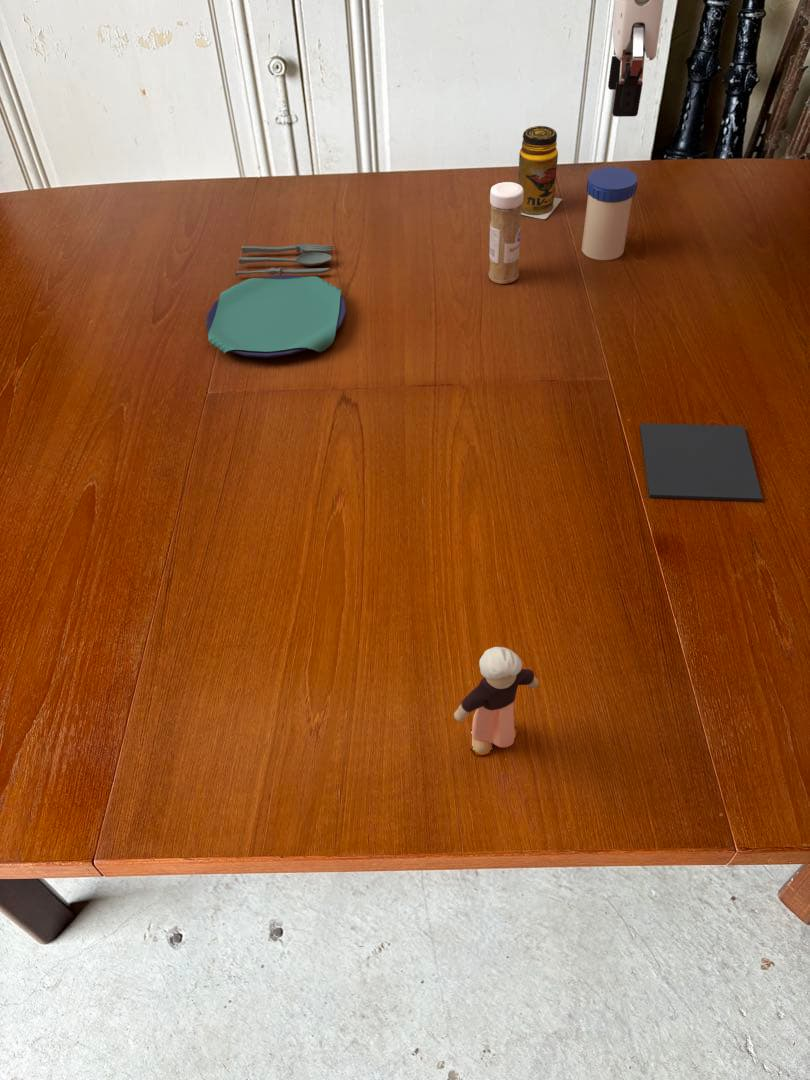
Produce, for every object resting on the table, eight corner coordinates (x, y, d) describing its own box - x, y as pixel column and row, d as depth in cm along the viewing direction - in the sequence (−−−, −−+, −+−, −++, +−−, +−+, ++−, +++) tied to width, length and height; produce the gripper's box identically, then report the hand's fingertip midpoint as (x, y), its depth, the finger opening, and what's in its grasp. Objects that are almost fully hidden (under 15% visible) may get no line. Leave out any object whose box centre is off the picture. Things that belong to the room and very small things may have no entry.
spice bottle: (518, 285, 119) (523, 196, 109) (487, 285, 120) (489, 196, 110) (518, 268, 122) (523, 180, 112) (488, 268, 123) (490, 180, 113)
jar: (622, 238, 127) (633, 170, 119) (625, 260, 122) (637, 191, 114) (580, 238, 127) (588, 171, 119) (582, 260, 123) (590, 191, 115)
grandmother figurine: (476, 774, 70) (479, 699, 60) (449, 742, 72) (447, 664, 62) (543, 725, 72) (556, 645, 63) (515, 695, 75) (523, 614, 65)
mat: (742, 428, 97) (743, 425, 96) (761, 501, 89) (762, 498, 88) (639, 426, 98) (640, 423, 97) (649, 497, 90) (649, 494, 90)
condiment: (545, 220, 132) (552, 144, 122) (497, 210, 134) (500, 135, 125) (562, 200, 136) (569, 125, 127) (515, 191, 139) (519, 117, 130)
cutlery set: (196, 369, 110) (192, 355, 108) (232, 253, 130) (229, 240, 128) (342, 365, 109) (340, 351, 107) (356, 249, 129) (355, 235, 127)
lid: (633, 179, 120) (635, 166, 118) (637, 202, 115) (639, 189, 114) (585, 179, 120) (586, 166, 119) (587, 202, 116) (589, 189, 115)
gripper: (687, -35, 90) (657, 129, 103) (669, -76, 101) (644, 76, 114) (618, -33, 90) (597, 129, 104) (608, -74, 102) (590, 77, 115)
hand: (622, 101), depth 109 cm, fingers open, 8 cm apart
